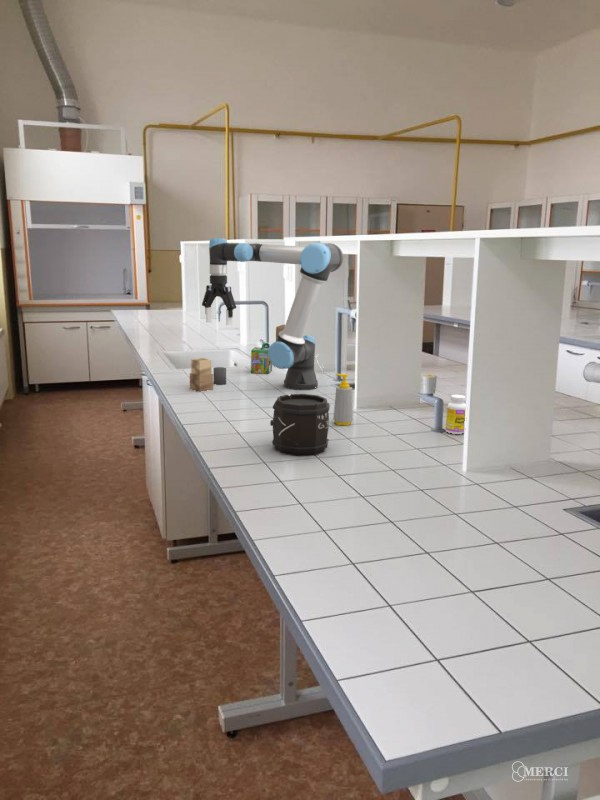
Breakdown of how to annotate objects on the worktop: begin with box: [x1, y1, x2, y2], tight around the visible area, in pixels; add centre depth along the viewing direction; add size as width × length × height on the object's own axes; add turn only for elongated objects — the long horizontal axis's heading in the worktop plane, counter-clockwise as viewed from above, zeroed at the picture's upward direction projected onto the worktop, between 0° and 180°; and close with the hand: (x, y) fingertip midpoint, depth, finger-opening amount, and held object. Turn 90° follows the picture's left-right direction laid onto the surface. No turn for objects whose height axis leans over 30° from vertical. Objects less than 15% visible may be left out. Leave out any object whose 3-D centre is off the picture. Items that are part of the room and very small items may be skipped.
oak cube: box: [190, 357, 212, 375], centre depth 287 cm, size 6×6×6 cm
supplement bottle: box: [445, 394, 467, 435], centre depth 231 cm, size 7×7×13 cm
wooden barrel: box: [269, 393, 331, 457], centre depth 208 cm, size 18×18×16 cm
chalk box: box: [250, 341, 273, 375], centre depth 329 cm, size 9×9×15 cm
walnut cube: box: [189, 372, 214, 393], centre depth 288 cm, size 7×7×7 cm
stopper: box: [213, 366, 227, 386], centre depth 301 cm, size 6×6×7 cm
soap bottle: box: [333, 373, 354, 426], centre depth 238 cm, size 7×7×18 cm
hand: (218, 323), depth 298 cm, fingers open, 13 cm apart
